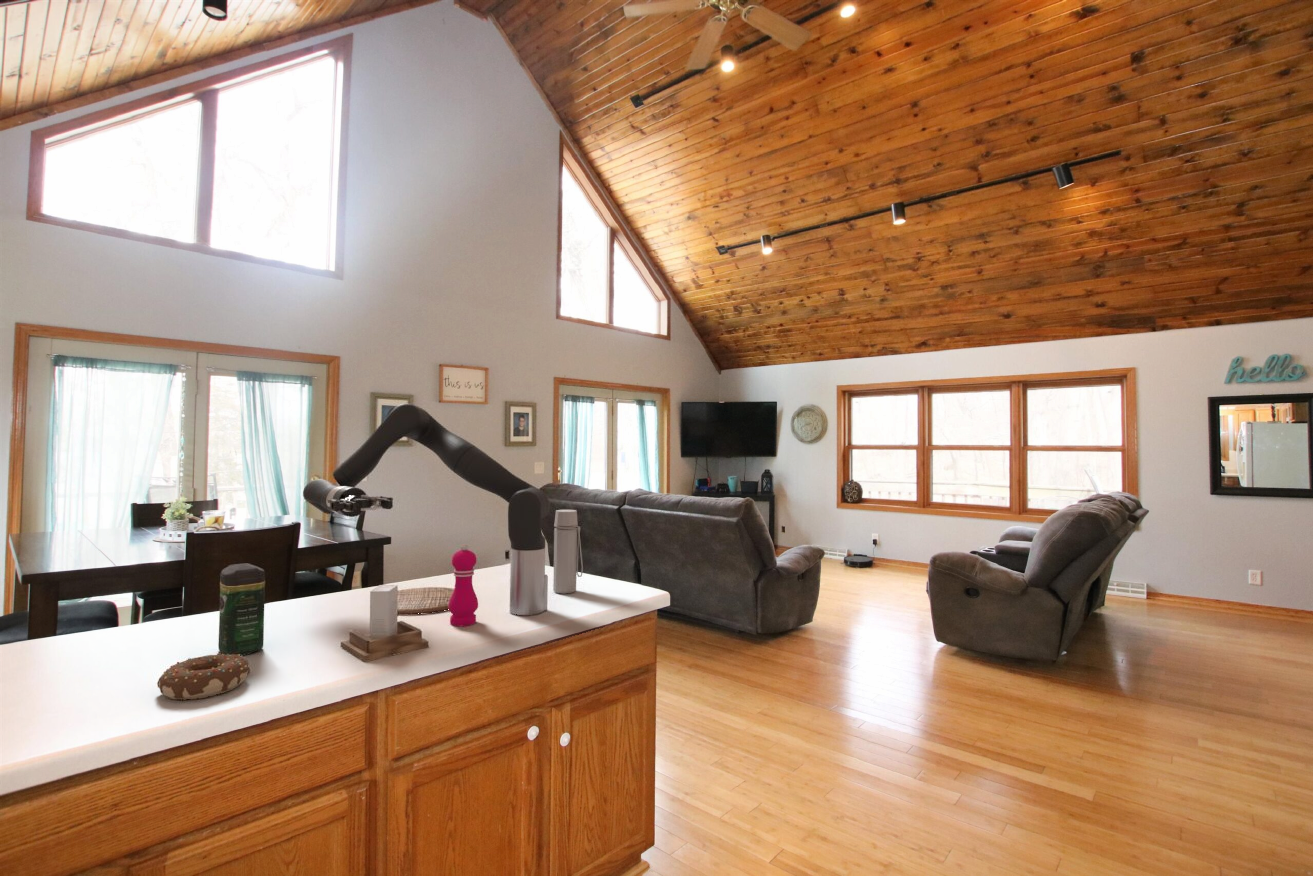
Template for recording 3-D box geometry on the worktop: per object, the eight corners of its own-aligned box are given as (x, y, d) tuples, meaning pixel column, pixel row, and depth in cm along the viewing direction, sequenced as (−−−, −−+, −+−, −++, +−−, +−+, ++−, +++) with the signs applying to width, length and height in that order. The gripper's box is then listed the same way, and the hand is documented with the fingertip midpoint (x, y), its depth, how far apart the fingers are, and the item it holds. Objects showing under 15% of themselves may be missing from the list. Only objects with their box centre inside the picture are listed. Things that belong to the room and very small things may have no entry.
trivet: (379, 596, 187) (379, 589, 187) (467, 591, 195) (467, 585, 195) (367, 619, 164) (368, 611, 164) (468, 612, 171) (468, 605, 171)
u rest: (402, 634, 150) (402, 618, 150) (428, 646, 141) (428, 630, 141) (340, 647, 140) (341, 630, 140) (364, 661, 131) (364, 644, 131)
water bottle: (549, 594, 192) (550, 511, 192) (557, 588, 199) (558, 509, 199) (578, 595, 190) (579, 512, 190) (585, 589, 198) (586, 510, 198)
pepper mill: (469, 628, 156) (470, 546, 156) (442, 625, 157) (443, 545, 157) (482, 620, 163) (484, 542, 163) (457, 618, 164) (458, 541, 165)
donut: (257, 689, 116) (258, 662, 116) (164, 711, 107) (165, 681, 107) (239, 669, 126) (239, 644, 127) (152, 687, 117) (153, 660, 117)
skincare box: (378, 637, 143) (379, 584, 144) (397, 637, 144) (398, 584, 144) (368, 646, 137) (369, 591, 137) (388, 645, 138) (389, 591, 138)
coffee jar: (267, 651, 136) (269, 565, 136) (224, 660, 131) (226, 570, 131) (256, 641, 143) (258, 559, 143) (214, 648, 138) (216, 563, 138)
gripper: (317, 487, 159) (342, 491, 148) (374, 485, 170) (401, 489, 159) (317, 517, 159) (341, 523, 148) (374, 513, 170) (401, 519, 159)
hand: (372, 506), depth 153 cm, fingers open, 8 cm apart
